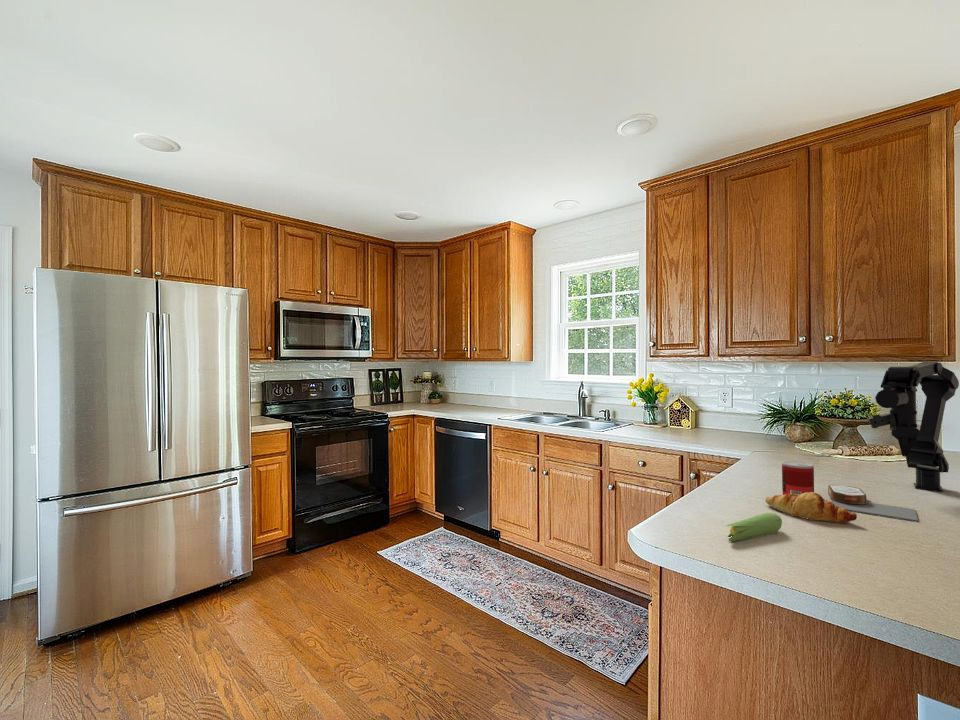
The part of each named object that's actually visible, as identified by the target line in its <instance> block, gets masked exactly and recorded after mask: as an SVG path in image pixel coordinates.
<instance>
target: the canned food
mask: <svg viewBox="0 0 960 720" xmlns="http://www.w3.org/2000/svg"><path fill="white" fill-rule="evenodd" d="M781 482H782V483H781V484H782V485H781V486H782V488H781V490H782V495H785V494H800V495H801V494H803V493H809V492H814V493H815V469H814V464H812V463H810V462H804V461H797V460H796V461H795V460H783V461H782V462H781Z"/></svg>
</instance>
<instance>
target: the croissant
mask: <svg viewBox="0 0 960 720" xmlns="http://www.w3.org/2000/svg"><path fill="white" fill-rule="evenodd" d="M765 503H766V504H767V505H768V506H770V507H772V509H775V510H778V511H780V512H783V513H784V514H787V515H789V514H790V515H789V516H792V515H793V517H797V516H798V517H797V518H802V517H804V518H803V519H805V518H808V519H807V520H811V519H813V520H812V521H820V520H821V521H823V520H824V522H828V521H829V523H837V524H838V523H842V524H843V523H845V524H846V523H849V522H853V521H856V520H857V518H858V517H857V512H852V511H847V510H846V509H844V508H842V507H837V506H836V505H834V504H833V503H832V500H831V501H830V500H828V499H825V498H824V497H823V496H822V495H821V494H820V493H816V492H815V491H814V492H809V493H803V494H801V495H800V494H785V495H783V494H781V495H779V494H776V495H775V494H774V495H773V496H767V497H765Z"/></svg>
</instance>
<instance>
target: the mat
mask: <svg viewBox="0 0 960 720" xmlns="http://www.w3.org/2000/svg"><path fill="white" fill-rule="evenodd" d="M831 502H832V503H833V504H834V505H836V506H837V507H842V508H844V509H846V510H847V511H848V512H852V511H854V513H859V514H865V515H871V514H872V516H878V515H880V516H879V517H884V516H885V517H884V518H890V517H892V519H896V518H898V520H903V519H904V521H909V520H910V521H911V522H915V521H916V523H918V522H919V519H918V515H917V513H916V510H915V508H910V507H909V508H908V507H902V506H896V505H895V506H894V505H889V504H883V503H874V502H868V501H867V504H850V503H843V502H839V501H835V500H832V499H831Z"/></svg>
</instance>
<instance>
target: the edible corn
mask: <svg viewBox="0 0 960 720" xmlns="http://www.w3.org/2000/svg"><path fill="white" fill-rule="evenodd" d="M782 525H783V520H782V518H781V516H780V515H779V514H776V513H775V512H774V513H773V512H765V513H761V514H759V515H758V514H757V515H755V516H752V517H749V518H746V519H743V520H739V521H735V522H732V523H728V524H726V527H730V528H729V534H728V535H727V537H731V536H732V537H731V538H729V539H728V540H729V541H728V542H730V541H733V542H737V541H736V540H738V541H742V539H743V540H748V539H753V538H757V536H758V537H763V535H764V536H768V534H769V535H773V533H774V534H776V533H777V532H779V530H781V527H782ZM752 537H753V538H752ZM747 538H748V539H747Z"/></svg>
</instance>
